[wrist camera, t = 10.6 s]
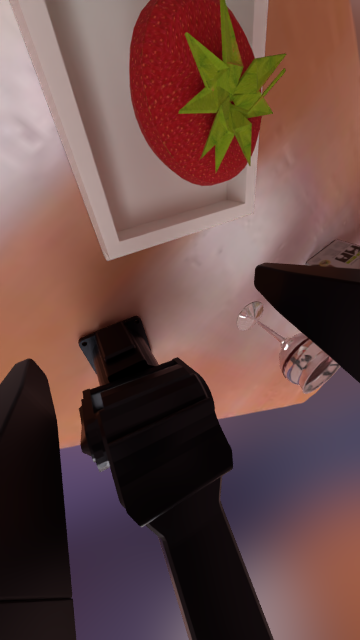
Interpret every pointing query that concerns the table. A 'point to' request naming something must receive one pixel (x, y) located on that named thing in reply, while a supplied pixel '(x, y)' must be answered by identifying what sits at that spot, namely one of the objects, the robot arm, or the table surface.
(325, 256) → the coffee box
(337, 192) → the table surface
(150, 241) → the cradle stand
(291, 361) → the wineglass
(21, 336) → the table surface
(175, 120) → the strawberry
